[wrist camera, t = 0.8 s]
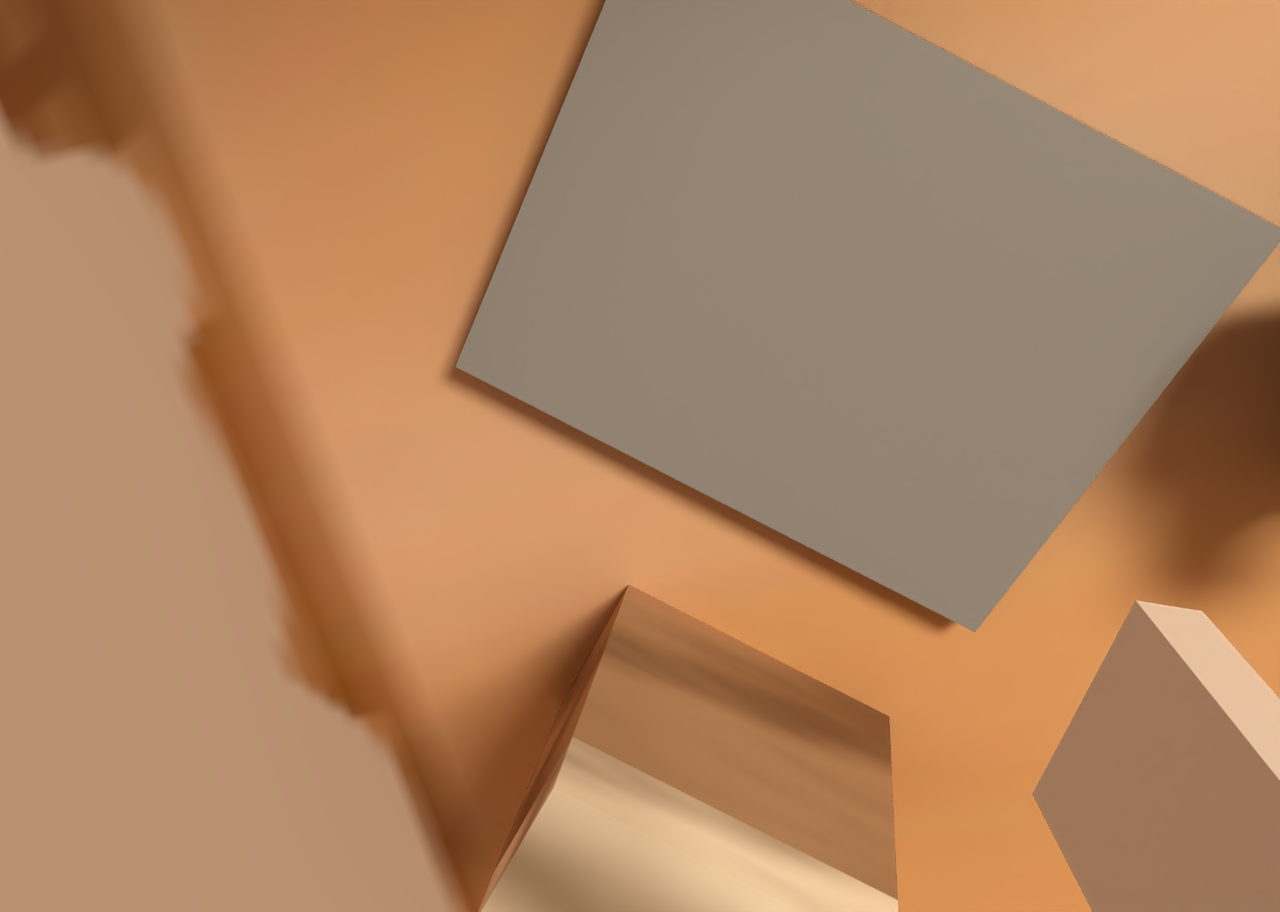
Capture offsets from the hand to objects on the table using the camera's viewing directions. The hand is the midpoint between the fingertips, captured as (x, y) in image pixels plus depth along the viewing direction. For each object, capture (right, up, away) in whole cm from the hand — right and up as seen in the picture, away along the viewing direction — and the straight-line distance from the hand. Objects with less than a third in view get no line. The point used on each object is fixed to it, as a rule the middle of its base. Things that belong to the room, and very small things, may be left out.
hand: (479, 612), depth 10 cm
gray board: (+7, +6, +20) cm, 22 cm away
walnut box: (+4, -7, +27) cm, 28 cm away
